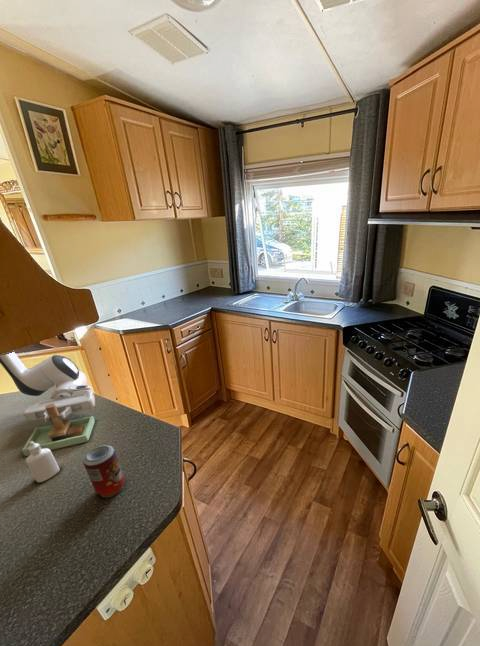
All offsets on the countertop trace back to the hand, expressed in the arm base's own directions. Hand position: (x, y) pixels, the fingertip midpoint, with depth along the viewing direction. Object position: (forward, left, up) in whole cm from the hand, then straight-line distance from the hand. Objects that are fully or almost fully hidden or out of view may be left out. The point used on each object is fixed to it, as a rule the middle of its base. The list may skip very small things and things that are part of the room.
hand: (54, 418), depth 93 cm
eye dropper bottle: (+1, -17, -8) cm, 19 cm away
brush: (0, +1, -7) cm, 7 cm away
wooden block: (+4, +1, -7) cm, 8 cm away
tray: (0, +1, -8) cm, 8 cm away
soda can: (+19, -29, -8) cm, 36 cm away
